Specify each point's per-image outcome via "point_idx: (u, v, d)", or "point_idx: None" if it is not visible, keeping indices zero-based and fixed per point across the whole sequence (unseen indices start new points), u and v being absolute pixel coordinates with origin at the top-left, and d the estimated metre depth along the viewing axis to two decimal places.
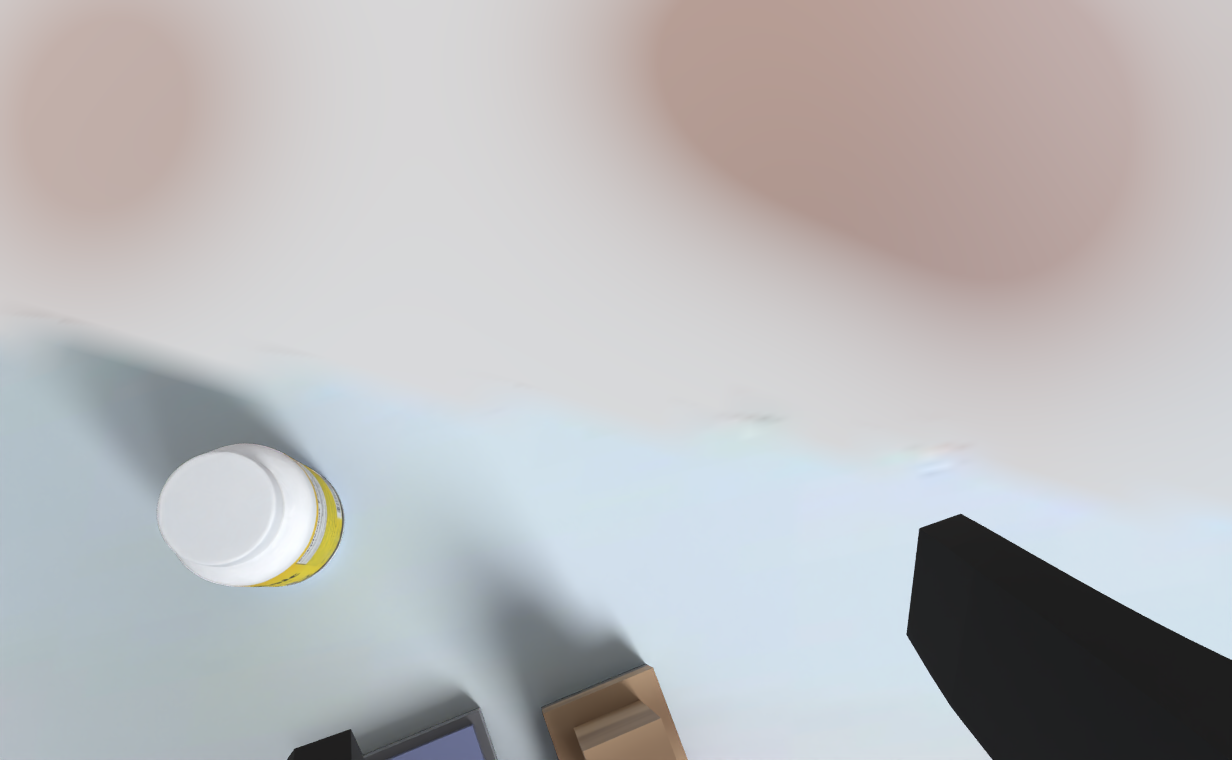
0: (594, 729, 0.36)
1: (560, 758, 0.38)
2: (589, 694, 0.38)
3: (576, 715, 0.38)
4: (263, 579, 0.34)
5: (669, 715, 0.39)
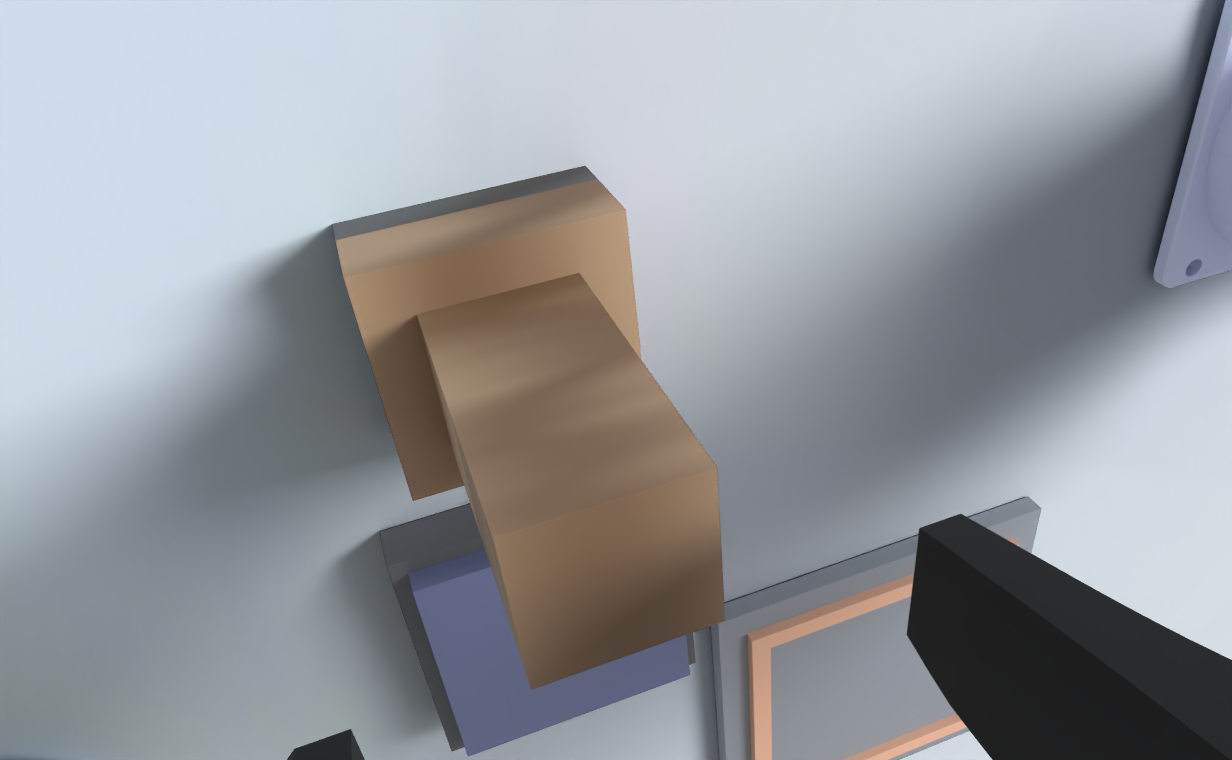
0: (470, 498, 0.15)
1: None
2: (387, 413, 0.17)
3: (427, 441, 0.17)
4: None
5: (464, 251, 0.16)
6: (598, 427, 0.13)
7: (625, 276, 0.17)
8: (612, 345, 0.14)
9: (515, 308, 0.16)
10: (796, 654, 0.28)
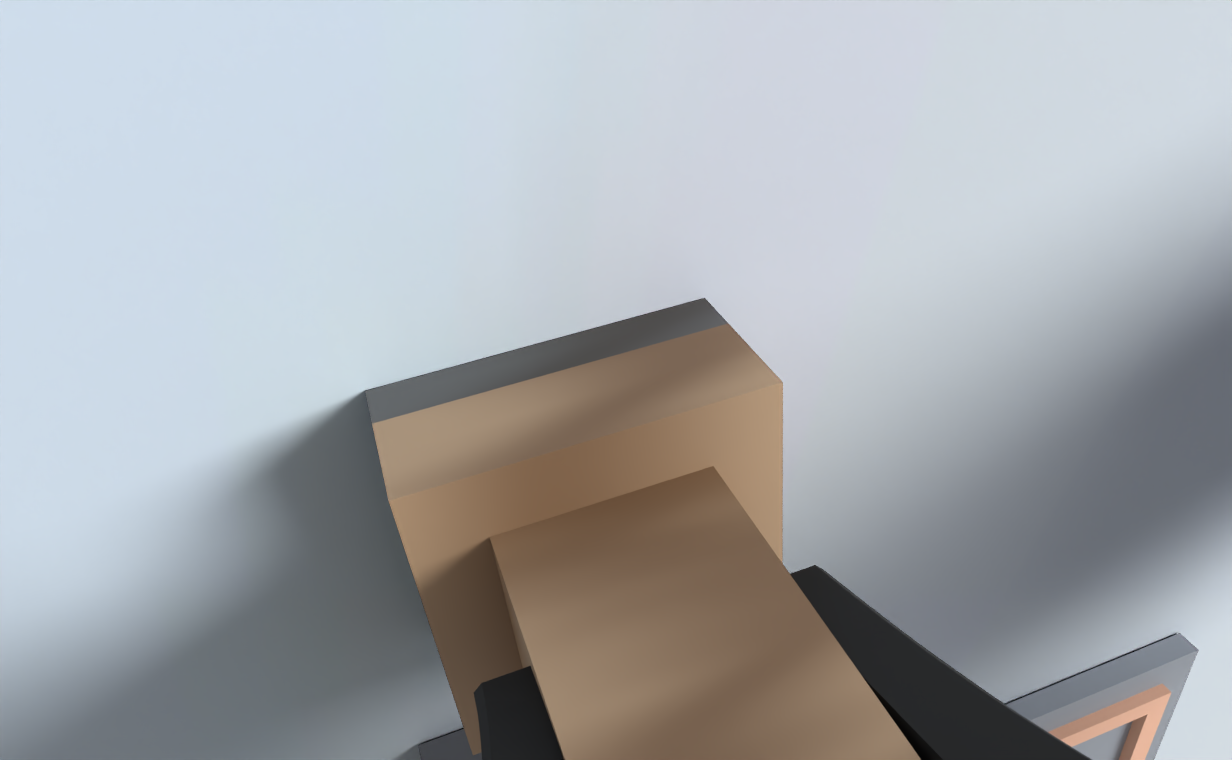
0: None
1: None
2: (442, 657, 0.12)
3: None
4: None
5: (560, 452, 0.11)
6: None
7: (773, 465, 0.12)
8: (792, 616, 0.10)
9: (632, 532, 0.11)
10: None
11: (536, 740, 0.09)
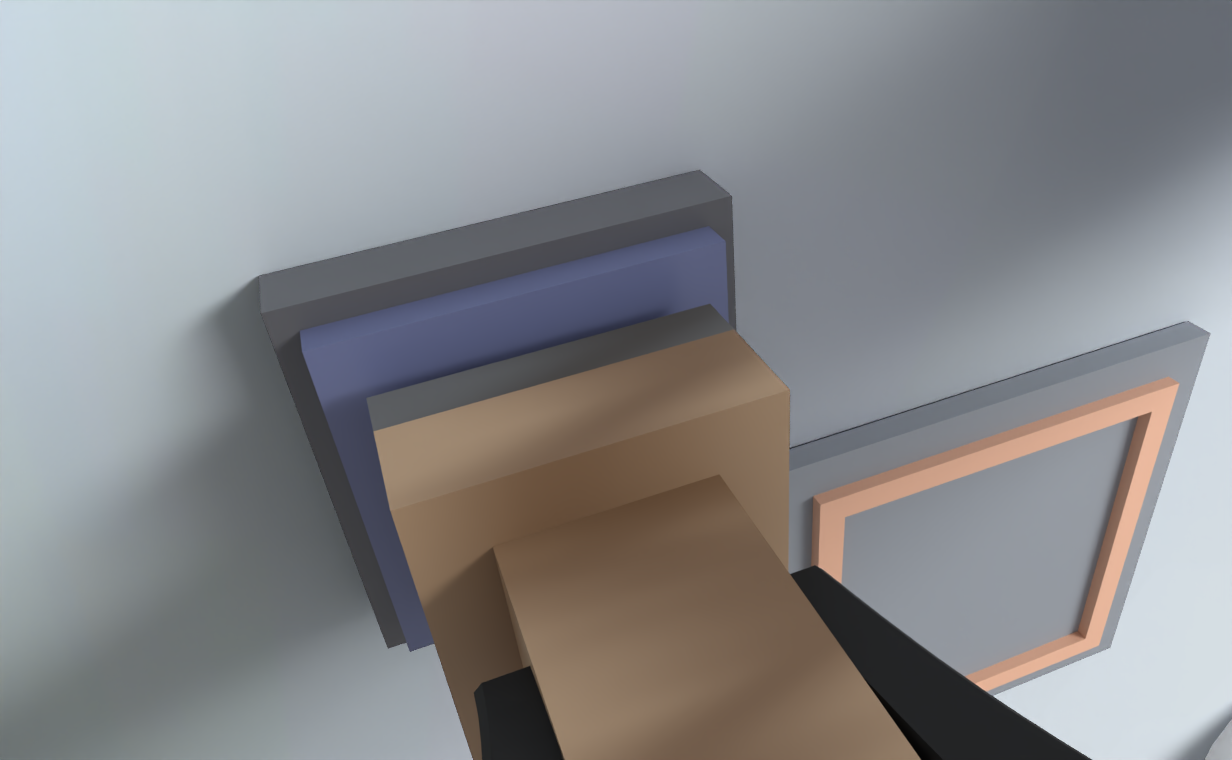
0: None
1: None
2: (444, 668, 0.12)
3: None
4: None
5: (564, 461, 0.11)
6: None
7: (779, 473, 0.12)
8: (801, 629, 0.10)
9: (637, 541, 0.11)
10: (876, 533, 0.20)
11: (536, 739, 0.09)
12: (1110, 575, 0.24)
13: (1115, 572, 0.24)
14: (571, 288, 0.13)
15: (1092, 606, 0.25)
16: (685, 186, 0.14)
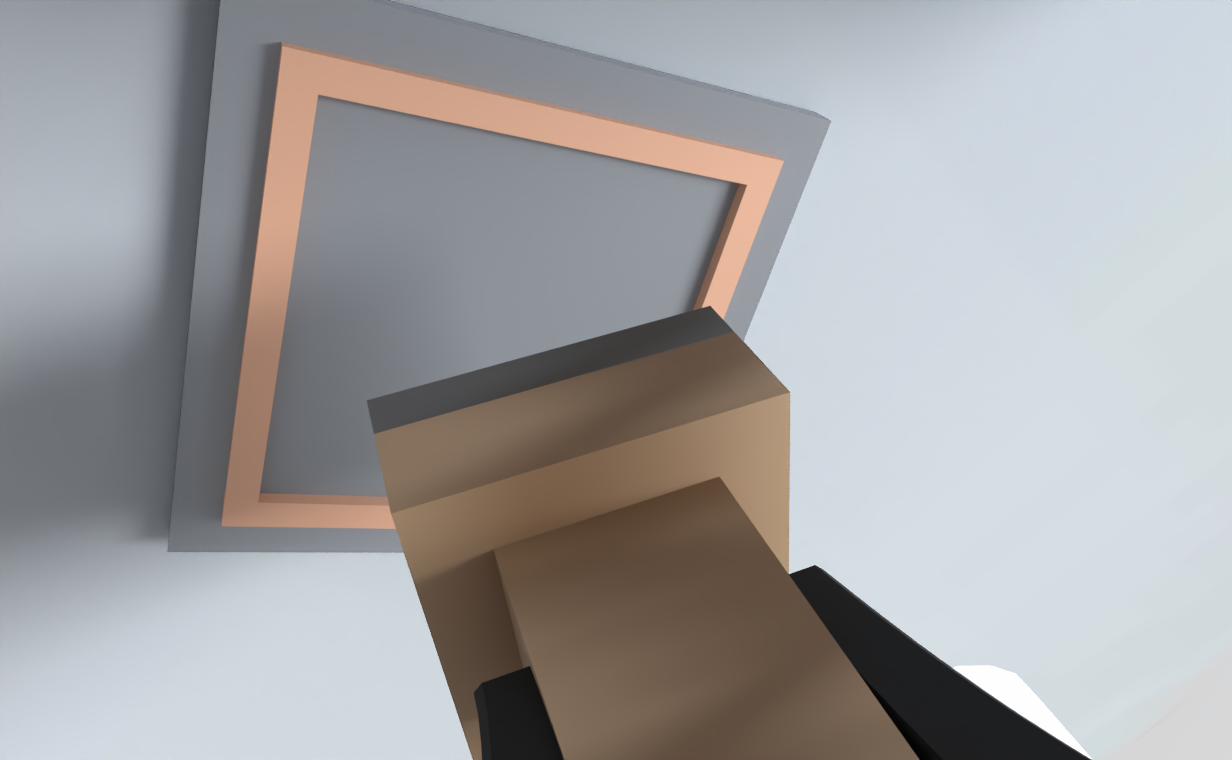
0: None
1: None
2: None
3: None
4: None
5: (565, 463, 0.11)
6: None
7: (780, 475, 0.12)
8: (801, 631, 0.10)
9: (637, 544, 0.11)
10: (369, 171, 0.15)
11: (536, 740, 0.09)
12: None
13: None
14: None
15: None
16: None
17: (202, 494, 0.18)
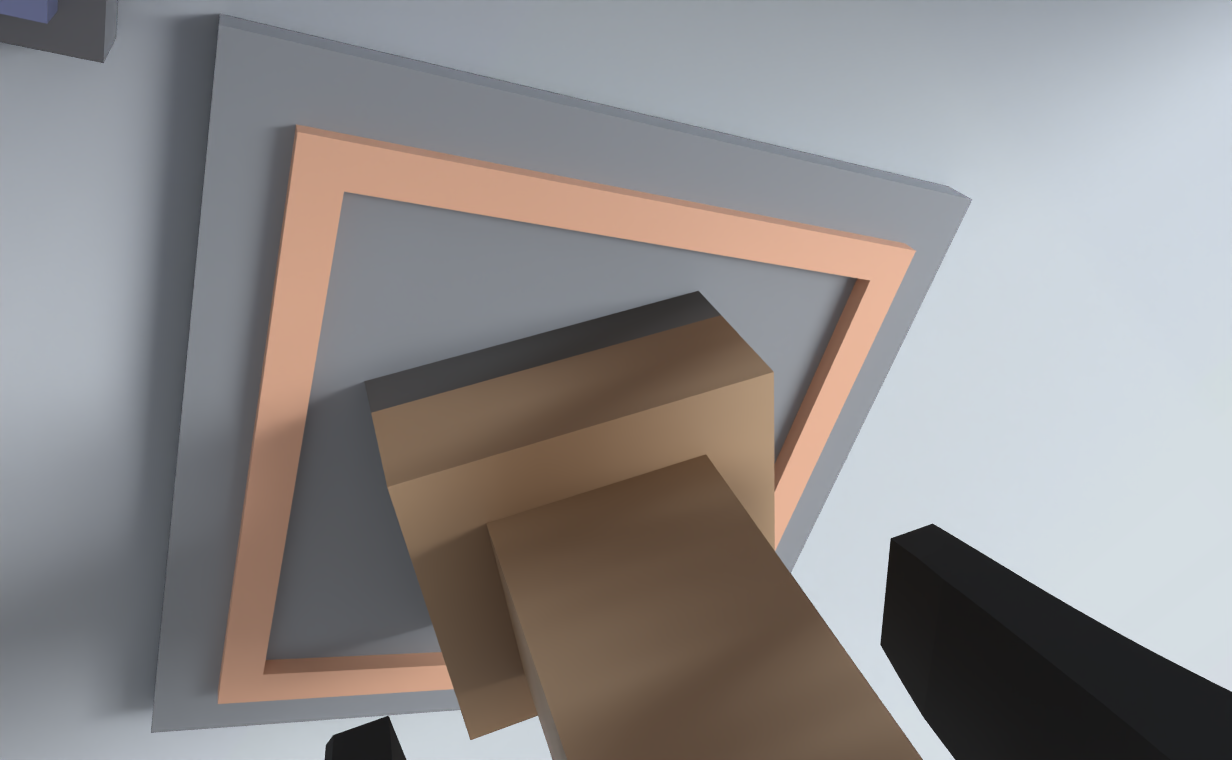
0: None
1: None
2: (440, 643, 0.12)
3: (493, 671, 0.13)
4: None
5: (555, 440, 0.11)
6: None
7: (765, 453, 0.12)
8: (781, 599, 0.10)
9: (626, 518, 0.11)
10: (407, 281, 0.12)
11: None
12: None
13: None
14: None
15: None
16: None
17: (193, 667, 0.14)
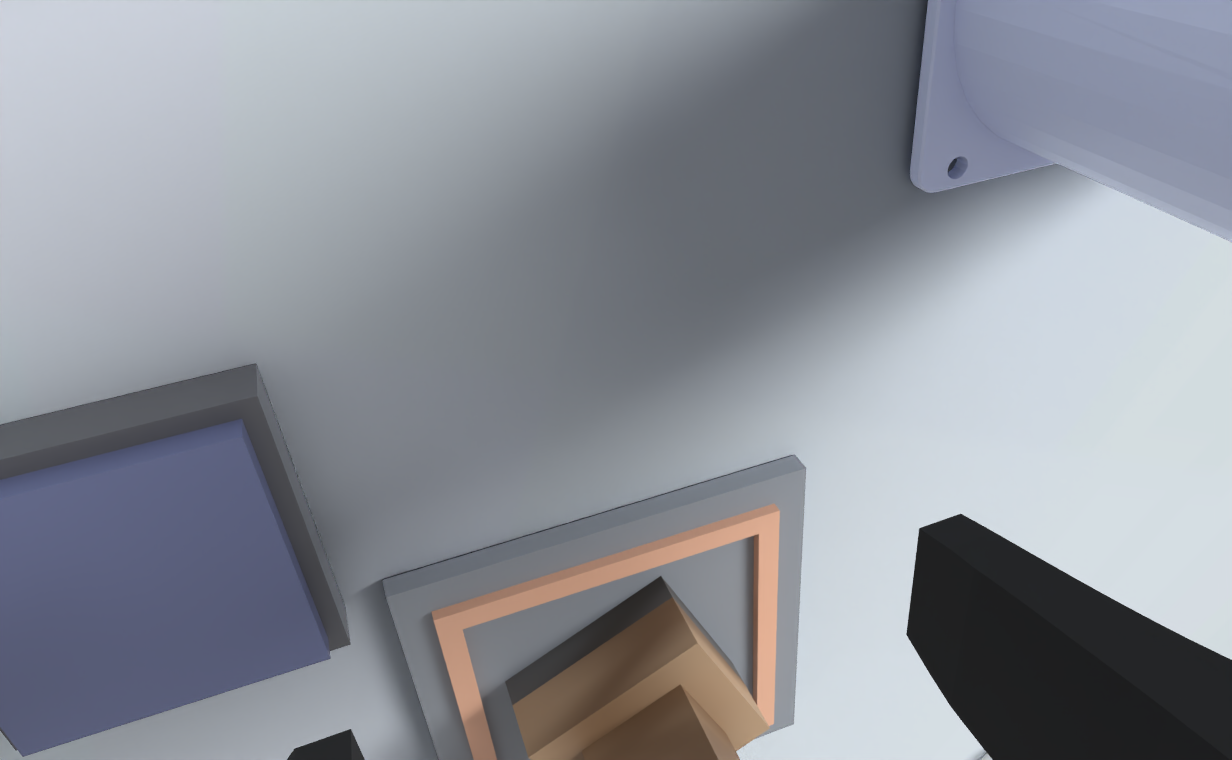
0: None
1: None
2: None
3: None
4: None
5: (598, 711, 0.22)
6: None
7: (714, 670, 0.23)
8: None
9: (644, 737, 0.22)
10: (507, 639, 0.23)
11: None
12: (765, 666, 0.27)
13: (769, 663, 0.27)
14: (101, 478, 0.16)
15: (756, 691, 0.28)
16: (231, 382, 0.17)
17: None
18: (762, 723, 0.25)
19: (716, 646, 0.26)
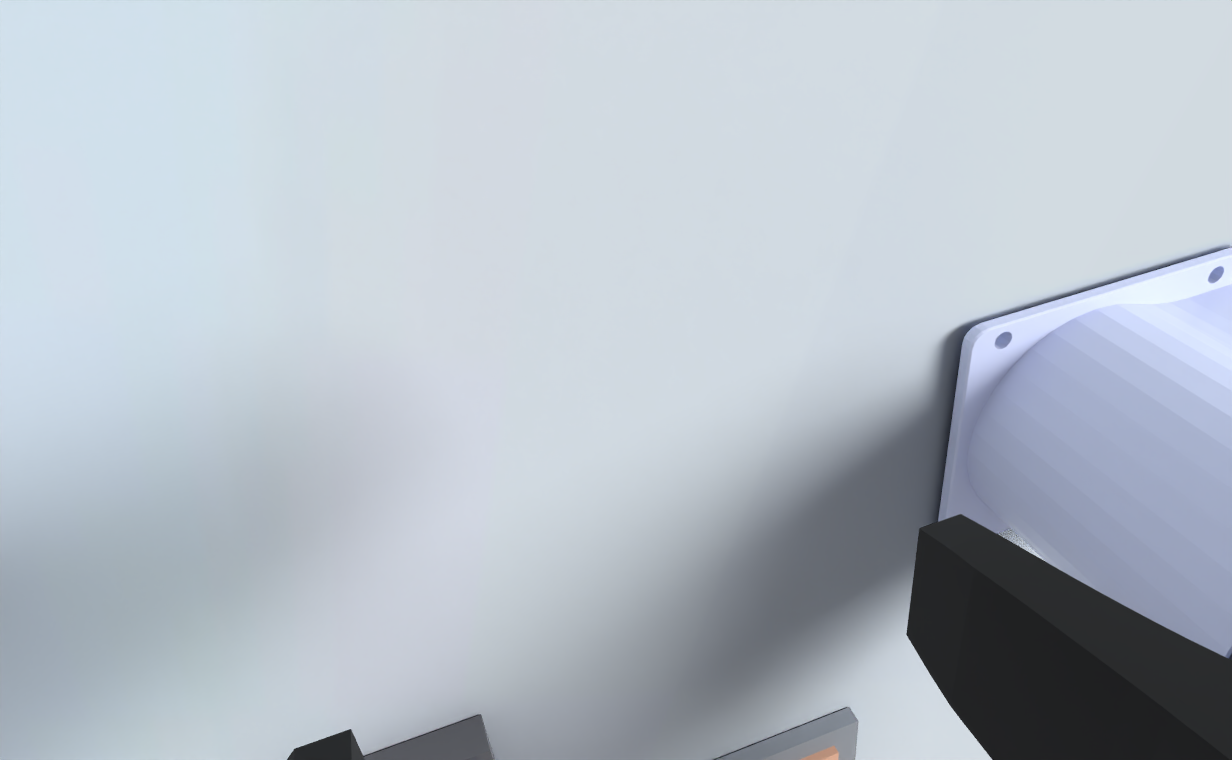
0: None
1: None
2: None
3: None
4: None
5: None
6: None
7: None
8: None
9: None
10: None
11: None
12: None
13: None
14: None
15: None
16: (468, 735, 0.25)
17: None
18: None
19: None
